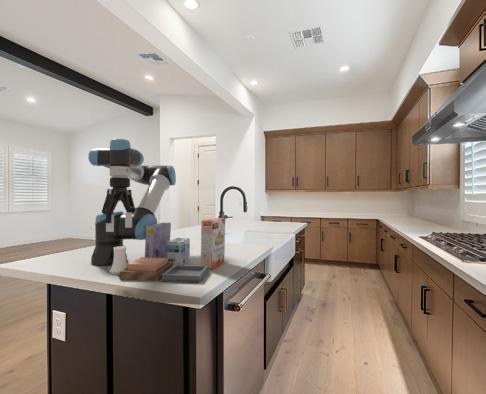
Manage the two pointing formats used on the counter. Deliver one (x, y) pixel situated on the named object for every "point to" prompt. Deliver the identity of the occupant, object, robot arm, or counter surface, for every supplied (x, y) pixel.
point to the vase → (119, 260)
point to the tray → (185, 273)
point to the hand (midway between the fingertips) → (119, 229)
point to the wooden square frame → (145, 273)
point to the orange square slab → (147, 264)
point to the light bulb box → (179, 251)
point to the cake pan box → (157, 240)
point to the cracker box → (212, 242)
